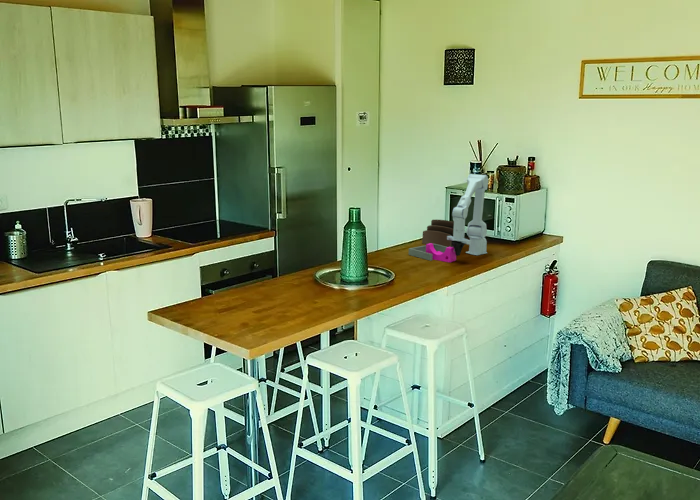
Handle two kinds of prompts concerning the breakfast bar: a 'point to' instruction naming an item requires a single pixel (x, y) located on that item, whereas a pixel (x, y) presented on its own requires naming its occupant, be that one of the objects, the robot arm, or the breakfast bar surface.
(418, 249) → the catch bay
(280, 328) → the breakfast bar surface
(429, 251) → the toy block
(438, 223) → the letter holder
